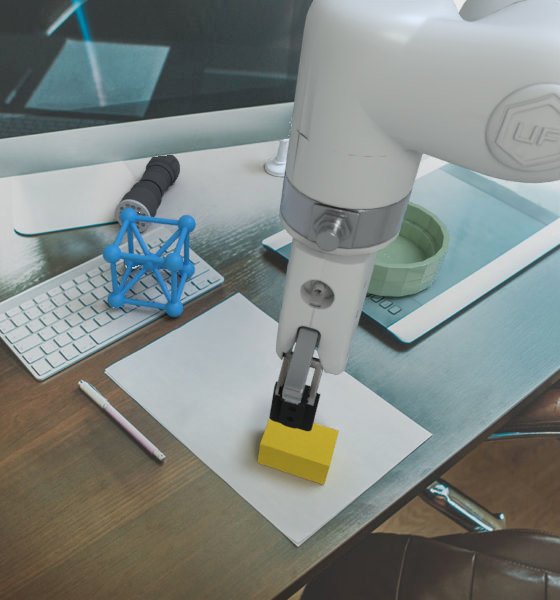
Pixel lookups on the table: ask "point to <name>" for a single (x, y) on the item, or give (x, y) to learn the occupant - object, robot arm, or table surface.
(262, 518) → the table surface
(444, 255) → the bowl
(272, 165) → the chess piece
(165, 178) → the flashlight
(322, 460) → the sponge
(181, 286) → the molecular structure
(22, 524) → the table surface
